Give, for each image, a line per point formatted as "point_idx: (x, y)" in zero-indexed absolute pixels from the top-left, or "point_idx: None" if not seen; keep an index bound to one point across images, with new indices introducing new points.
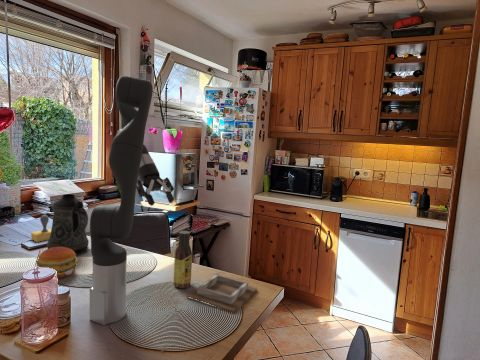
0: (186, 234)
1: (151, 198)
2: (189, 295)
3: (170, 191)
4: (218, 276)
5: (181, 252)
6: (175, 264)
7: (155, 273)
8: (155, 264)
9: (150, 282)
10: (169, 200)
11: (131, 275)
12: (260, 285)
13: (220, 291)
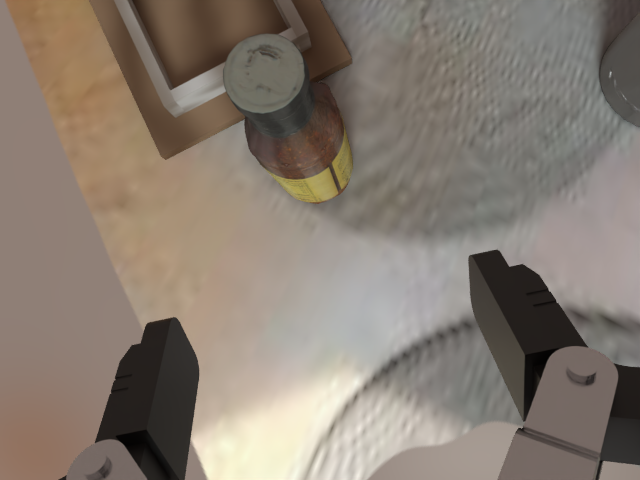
0: (270, 34)
1: (521, 291)
2: (343, 51)
3: (99, 441)
4: (169, 89)
5: (320, 83)
6: (346, 137)
7: (367, 343)
8: (323, 451)
9: (425, 262)
10: (190, 376)
11: (478, 379)
12: (44, 21)
13: (220, 26)
